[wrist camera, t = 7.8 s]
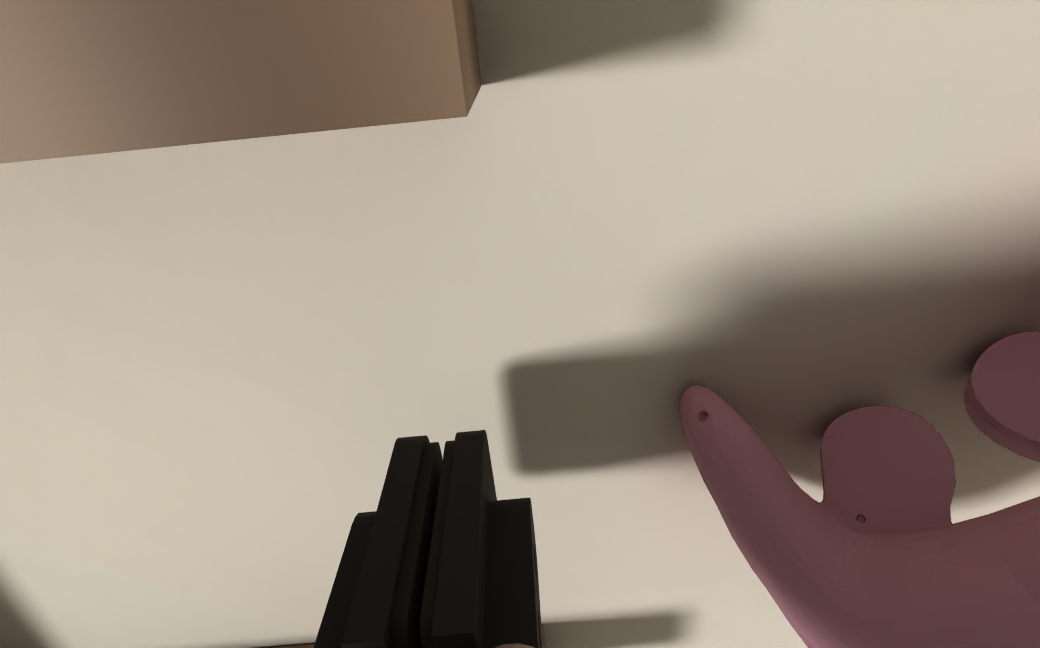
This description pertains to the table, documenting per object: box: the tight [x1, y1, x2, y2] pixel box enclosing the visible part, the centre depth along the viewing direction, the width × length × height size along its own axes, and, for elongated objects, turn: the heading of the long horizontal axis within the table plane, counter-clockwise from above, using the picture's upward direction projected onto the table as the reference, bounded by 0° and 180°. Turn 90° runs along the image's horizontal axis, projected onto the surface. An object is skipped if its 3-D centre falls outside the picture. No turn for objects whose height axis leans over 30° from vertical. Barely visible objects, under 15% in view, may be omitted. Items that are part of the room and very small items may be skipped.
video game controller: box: [681, 331, 1040, 648], centre depth 10 cm, size 10×5×7 cm, turn 123°
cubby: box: [0, 0, 545, 648], centre depth 11 cm, size 19×17×4 cm
